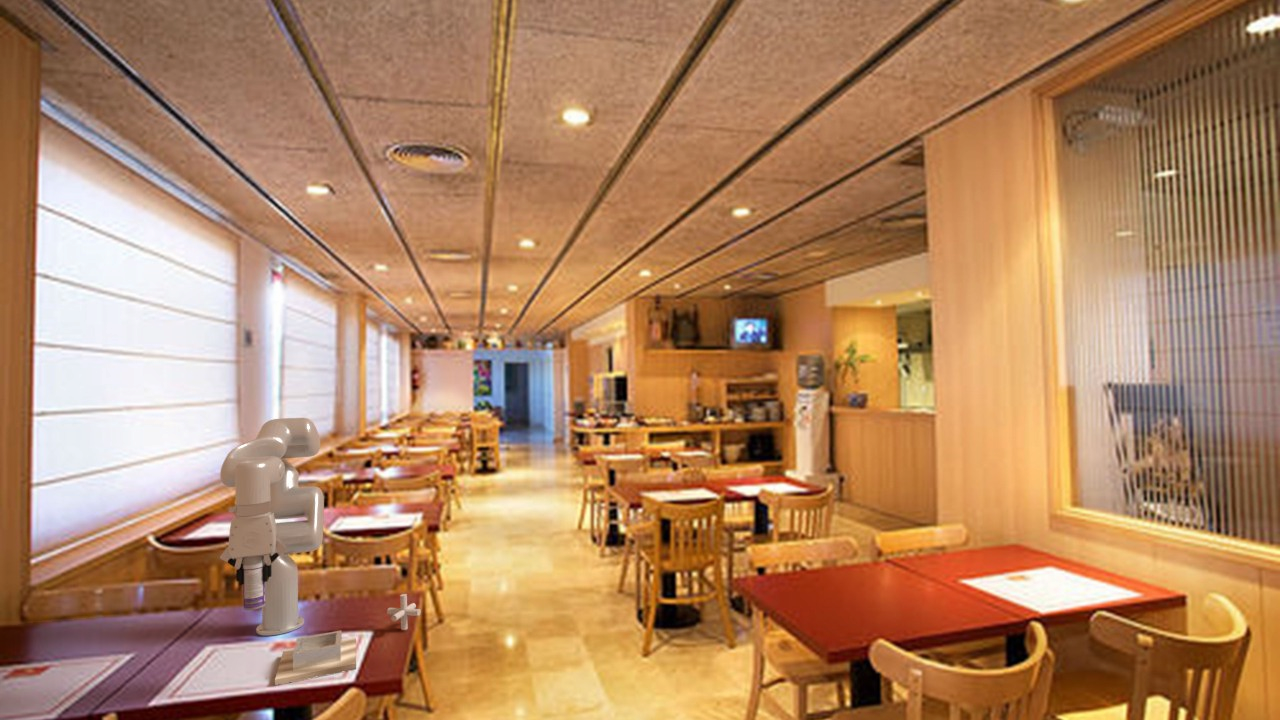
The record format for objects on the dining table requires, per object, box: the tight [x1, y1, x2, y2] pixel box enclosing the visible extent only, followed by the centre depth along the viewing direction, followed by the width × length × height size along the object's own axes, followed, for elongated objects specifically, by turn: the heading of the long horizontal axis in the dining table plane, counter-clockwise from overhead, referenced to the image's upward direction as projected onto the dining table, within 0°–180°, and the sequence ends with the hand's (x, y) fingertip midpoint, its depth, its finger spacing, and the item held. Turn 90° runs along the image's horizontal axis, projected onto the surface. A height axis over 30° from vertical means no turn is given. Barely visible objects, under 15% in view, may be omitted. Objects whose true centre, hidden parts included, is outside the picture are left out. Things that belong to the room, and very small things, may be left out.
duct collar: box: [293, 630, 343, 670], centre depth 163 cm, size 11×11×4 cm
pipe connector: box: [386, 593, 422, 631], centre depth 184 cm, size 10×10×10 cm
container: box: [242, 555, 265, 611], centre depth 156 cm, size 5×5×15 cm
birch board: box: [274, 637, 357, 686], centre depth 163 cm, size 18×18×2 cm
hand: (254, 581), depth 156 cm, fingers closed on container, 4 cm apart
